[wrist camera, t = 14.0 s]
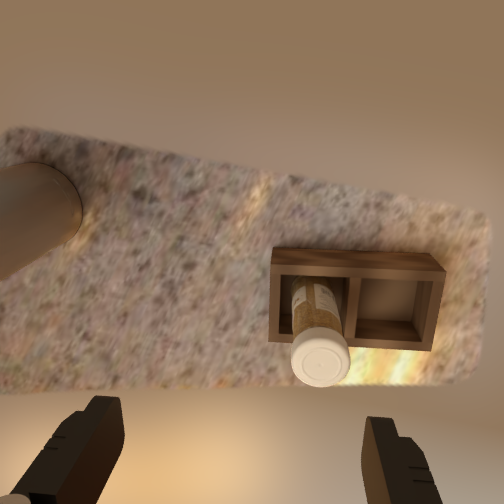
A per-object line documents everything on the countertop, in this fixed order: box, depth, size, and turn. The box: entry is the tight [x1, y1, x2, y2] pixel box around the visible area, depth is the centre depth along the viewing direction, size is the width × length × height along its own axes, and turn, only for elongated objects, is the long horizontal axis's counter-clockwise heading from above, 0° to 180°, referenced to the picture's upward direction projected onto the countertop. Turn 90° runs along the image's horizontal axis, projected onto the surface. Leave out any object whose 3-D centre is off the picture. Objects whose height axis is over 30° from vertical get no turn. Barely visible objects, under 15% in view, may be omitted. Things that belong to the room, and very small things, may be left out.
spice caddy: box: [268, 247, 446, 351], centre depth 41 cm, size 16×9×5 cm, turn 90°
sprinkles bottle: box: [291, 275, 350, 387], centre depth 37 cm, size 5×5×13 cm
